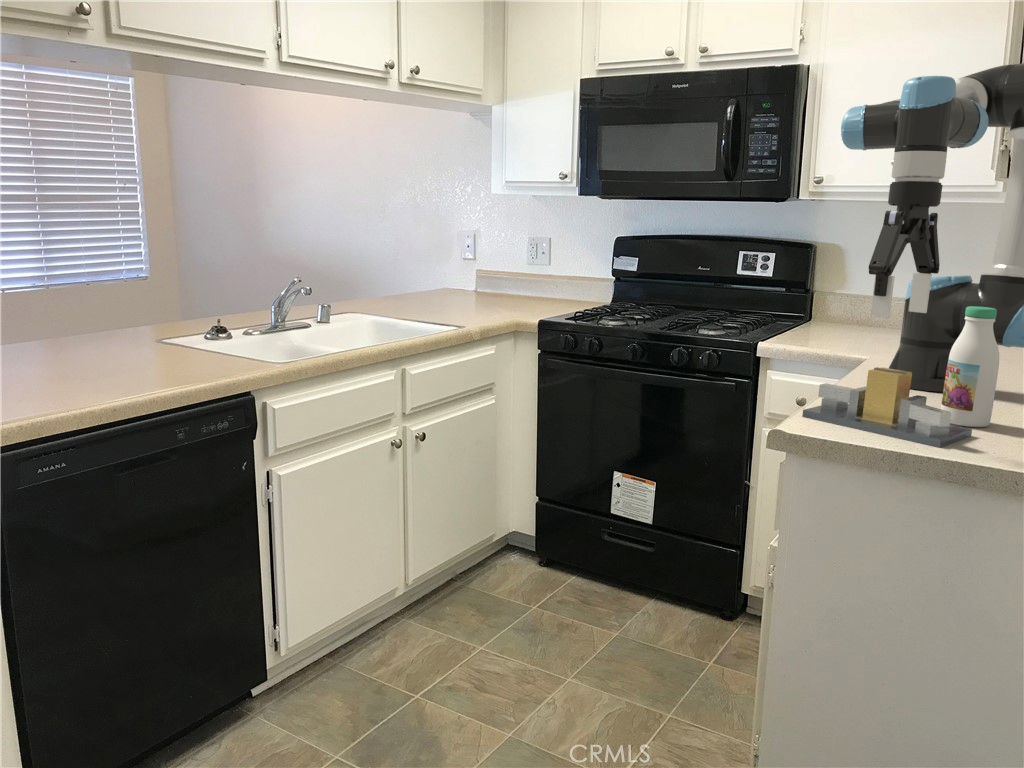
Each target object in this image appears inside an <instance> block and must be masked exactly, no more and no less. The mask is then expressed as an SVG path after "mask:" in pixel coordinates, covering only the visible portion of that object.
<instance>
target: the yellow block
mask: <svg viewBox="0 0 1024 768" xmlns="http://www.w3.org/2000/svg"><path fill="white" fill-rule="evenodd" d="M911 378H912V372H907V371H901V370H895V369H889V367H874V369H873V368H872V369H868V370H867V379H866V393H865V401H864V409H863V417H865V418H869V419H874V420H879V421H883V422H888V423H895V422H898V419H899V412H900V405H901V399H905V398H909V397H910V391H911V388H910V385H911Z"/></svg>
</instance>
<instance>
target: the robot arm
mask: <svg viewBox="0 0 1024 768" xmlns="http://www.w3.org/2000/svg"><path fill="white" fill-rule="evenodd" d="M988 127H989V128H1009V132H1008V133H1009V135H1010V137H1012V138H1013V140H1014V141H1015V147H1014V154H1013V158H1012V164H1011V169H1010V173H1009V178H1008V183H1007V188H1006V192H1005V198H1004V203H1003V208H1002V213H1001V217H1000V223H999V227H998V233H997V237H996V241H995V246H994V247H995V248H994V251H993V252H994V253H993V256H992V257H993V258H992V263H991V266H990V267H988V268H987V269H986V270H984V271H983V272H981V274H980V277H979V278H980V279H979V282H978V283H974V281H973V278H972V276H971V275H950V276H933V274H936V275H937V274H939V272H940V253H939V242H938V241H939V238H938V220H939V219H938V218H939V214H938V212H929V210H930V209H929V208H930V207H933V208H935V207H938V206H939V205H940V204H941V199H942V190H943V184H942V182H940V180H943V179H944V178H945V172H946V164H947V157H948V148H950V149H965V148H968V147H969V148H970V147H971V146H973V145H975V144H976V143H978V142H979V141H980V140H981V139H982V138H983V137H984V135H985V133H986V132H987V130H988ZM840 136H841V141H842V142H843V145H844V146H845V147H846V148H847V149H849V150H854V151H855V150H857V151H858V150H861V151H863V152H864V151H867V150H882V149H885V150H887V149H889V150H890V149H894V152H893V159H892V160H891V161H890V164H891V166H892V170H891V178H892V179H894V181H892V182H891V183H890V184H889V190H888V201H887V203H888V205H889V206H894V207H896V210H886V211H885V214H884V216H883V217H884V218H883V225H882V227H881V230H880V232H879V236H878V239H877V241H876V245H875V247H874V250H873V252H872V256H871V257H870V258H871V259H870V262H869V264H868V274H869V275H875V276H874V283H873V292H872V299H871V300H872V302H871V309H870V317H874V318H882V319H883V318H884V319H889V318H890V315H891V309H892V300H893V295H894V294H893V293H894V286H895V285H894V284H895V275H892V274H893V272H894V271H895V268H896V267H897V264H898V262H899V260H900V259H901V256H902V255H903V253H904V250H905V249H906V246H907V244H910V248H911V253H912V257H913V261H914V265H915V269H916V272H913V273H912V274H913V275H912V280H910V281H909V283H908V285H907V289H906V294H905V297H904V305H903V307H904V308H903V317H902V324H901V325H902V326H901V332H900V338H899V339H900V341H899V345H898V346H899V347H898V349H897V350H896V352H895V355H894V357H893V359H892V361H891V362H890V364H889V366H888V368H889V369H895V370H901V371H907V372H912V378H911V385H910V390H911V389H912V390H919V391H927V392H938V393H939V392H942V393H943V390H944V384H945V377H946V371H947V365H948V359H949V355H950V351H951V349H952V346H953V344H954V343H955V341H956V340H957V338H958V337H959V335H960V334H961V332H962V330H963V328H964V326H965V322H966V320H965V319H964V318H965V311H966V308H967V307H969V306H977V307H989V308H995V309H997V315H996V318H995V322H994V323H993V331H994V336H995V340H996V343H997V345H998V346H1003V347H1004V348H1012V347H1013V348H1022V349H1023V348H1024V63H1023V62H1022V63H1016V64H1015V63H1014V64H1005V65H999V66H995V67H990V68H989V69H988V68H987V69H984V70H980V71H977V72H975V73H971V74H968V75H966V76H965V75H964V76H962V77H958V78H956V79H955V78H953V77H952V76H946V75H925V76H917V77H916V76H915V77H912V78H909V79H908V80H906V81H905V82H904V84H903V86H902V90H901V95H900V98H898V99H894V100H891V101H890V100H889V101H886V102H885V101H884V102H882V103H876V104H863V105H859V106H858V105H857V106H853V107H851V108H849V109H848V110H846V112H845V113H844V115H843V118H842V121H841V125H840Z"/></svg>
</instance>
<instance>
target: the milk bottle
mask: <svg viewBox="0 0 1024 768" xmlns="http://www.w3.org/2000/svg"><path fill="white" fill-rule="evenodd" d="M996 315H997V309H995V308H989V307H977V306H969V307H967V308H966V311H965V318H964V319H965V320H966V322H965V326H964V328H963V330H962V332H961V334H960V335H959V337H958V338H957V340H956V341H955V343H954V344H953V346H952V349H951V351H950V355H949V359H948V365H947V371H946V377H945V384H944V390H943V392H942V396H941V397H942V398H941V399H942V400H941V405H940V409H942V410H945V411H949V412H952V413H951V420H950V424H951V425H956V426H961V427H966V428H987V427H989V425H990V423H991V419H992V414H993V407H994V403H995V401H994V400H995V396H996V395H995V394H996V388H997V382H998V374H999V369H1000V368H999V367H1000V349H999V345H997V343H996V340H995V336H994V331H993V323H994V322H995V318H996Z"/></svg>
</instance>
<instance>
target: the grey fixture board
mask: <svg viewBox="0 0 1024 768" xmlns="http://www.w3.org/2000/svg"><path fill="white" fill-rule="evenodd" d="M865 393H866V386H861V387H857V388H852V387H848V386H843V385H837V384H832V383H820V384H819V388H818V398H821V403H820V405H818V406H817V405H816V406H813V407H809V408H804V409H802V417H803V418H807V419H811V420H817V421H819V422H820V421H821V422H825V423H828V424H833V423H834V425H838V426H843V427H847V428H852V429H857V430H860V431H864V432H869V433H874V434H879V435H883V436H887V437H891V438H896V439H900V440H904V441H910V442H913V443H917V444H922V445H927V446H931V447H936V448H943V447H945V446H948V445H951V444H955V443H956V442H959V441H961V440H965V439H967V438H970V437H972V433H973V428H972V427H967V426H960V425H955V424H951V423H950V420H951V413H952V412H949V411H945V410H942V409H941V408H937V407H935V406H930V405H927V397H928V396H924V395H919V394H918V395H912V396H909V398H905V399H901V405H900V412H899V419H898V422H895V423H888V422H883V421H879V420H874V419H869V418H865V417H863V409H864V401H865Z"/></svg>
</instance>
